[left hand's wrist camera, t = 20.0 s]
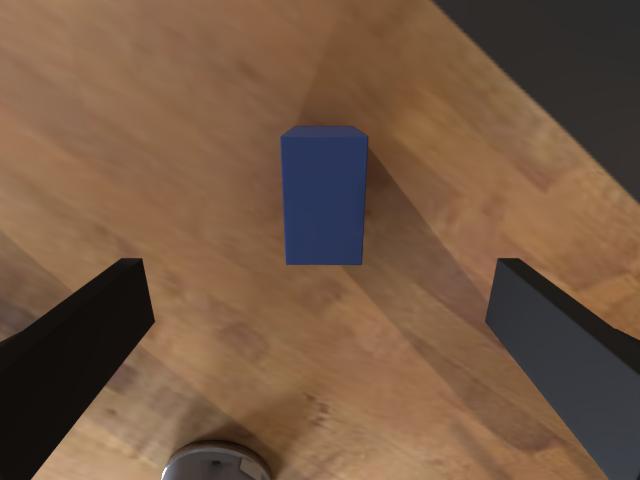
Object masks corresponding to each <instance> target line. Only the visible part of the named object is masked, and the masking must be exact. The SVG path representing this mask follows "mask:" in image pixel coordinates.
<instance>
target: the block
mask: <svg viewBox="0 0 640 480" xmlns="http://www.w3.org/2000/svg"><path fill="white" fill-rule="evenodd" d="M367 154H368V136H367V135H365V134H364V133H362V132H361V131H359V130H358V129H356V128H355V127H353V126H295V127H293V128H292V129H290V130H289V131H288V132H286V133H285V134H283V135H282V136H281V161H282V185H283V209H284V234H285V258H286V264H287V265H362V253H363V233H364V213H365V193H366V173H367Z"/></svg>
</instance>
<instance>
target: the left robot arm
mask: <svg viewBox="0 0 640 480" xmlns="http://www.w3.org/2000/svg"><path fill="white" fill-rule="evenodd" d="M154 322H155V319H154V315H153V310H152V305H151V300H150V295H149V290H148V285H147V280H146V275H145V270H144V265H143V260H142V258H121V259H120V260H118V261H117V262H116V263H114V264H113V265H112V266H110V267H109V268H107V269H106V270H105V271H103V272H102V273H101V274H99V275H98V276H97V277H95V278H94V279H92V280H91V281H90V282H88V283H87V284H86V285H84V286H83V287H82V288H80V289H79V290H78V291H76V292H75V293H73V294H72V295H71V296H69V297H68V298H67V299H65V300H64V301H63V302H61V303H60V304H59V305H57V306H56V307H54V308H53V309H52V310H50V311H49V312H48V313H46V314H45V315H44V316H42V317H41V318H39V319H38V320H37V321H35V322H34V323H33V324H31V325H30V326H29V327H27V328H26V329H25V330H23V331H21V332H19V333H17V334H15V335H13V336H11V337H9V338H7V339H5V340H3V341H1V342H0V480H31V479H32V477H33V476H34V475H35V474H36V472H37V471H38V470H39V469H40V467H41V466H42V465H43V463H44V462H45V461H46V460H47V458H48V457H49V456H50V455H51V453H52V452H53V451H54V449H55V448H56V447H57V446H58V444H59V443H60V442H61V441H62V439H63V438H64V437H65V435H66V434H67V433H68V432H69V430H70V429H71V428H72V427H73V425H74V424H75V423H76V422H77V420H78V419H79V418H80V416H81V415H82V414H83V413H84V411H85V410H86V409H87V408H88V406H89V405H90V404H91V402H92V401H93V400H94V399H95V397H96V396H97V395H98V394H99V392H100V391H101V390H102V388H103V387H104V386H105V385H106V383H107V382H108V381H109V380H110V378H111V377H112V376H113V374H114V373H115V372H116V371H117V369H118V368H119V367H120V366H121V364H122V363H123V362H124V361H125V359H126V358H127V357H128V355H129V354H130V353H131V352H132V350H133V349H134V348H135V347H136V345H137V344H138V343H139V341H140V340H141V339H142V338H143V336H144V335H145V334H146V333H147V331H148V330H149V329H150V327H151V326H152V325H153V324H154ZM485 322H486V324H487V325H488V326H489V327H490V329H491V330H492V331H493V333H494V334H495V335H496V336H497V338H498V339H499V340H500V341H501V343H502V344H503V345H504V347H505V348H506V349H507V350H508V352H509V353H510V354H511V355H512V357H513V358H514V359H515V361H516V362H517V363H518V364H519V366H520V367H521V368H522V369H523V371H524V372H525V373H526V375H527V376H528V377H529V378H530V380H531V381H532V382H533V383H534V385H535V386H536V387H537V388H538V390H539V391H540V392H541V394H542V395H543V396H544V397H545V399H546V400H547V401H548V402H549V404H550V405H551V406H552V408H553V409H554V410H555V411H556V413H557V414H558V415H559V416H560V418H561V419H562V420H563V422H564V423H565V424H566V425H567V427H568V428H569V429H570V430H571V432H572V433H573V434H574V435H575V437H576V438H577V439H578V441H579V442H580V443H581V444H582V446H583V447H584V448H585V449H586V451H587V452H588V453H589V455H590V456H591V457H592V458H593V460H594V461H595V462H596V463H597V465H598V466H599V467H600V469H601V470H602V471H603V472H604V474H605V475H606V476H607V477H608V479H609V480H640V340H638V339H636V338H634V337H632V336H630V335H628V334H626V333H624V332H621V331H619V330H617V329H614V328H613V327H611V326H610V325H609V324H607V323H606V322H605V321H603V320H602V319H601V318H599V317H598V316H596V315H595V314H594V313H592V312H591V311H590V310H588V309H587V308H586V307H584V306H583V305H581V304H580V303H579V302H577V301H576V300H575V299H573V298H572V297H571V296H569V295H568V294H567V293H565V292H564V291H562V290H561V289H560V288H558V287H557V286H556V285H554V284H553V283H552V282H550V281H549V280H548V279H546V278H545V277H543V276H542V275H541V274H539V273H538V272H537V271H535V270H534V269H533V268H531V267H530V266H528V265H527V264H526V263H524V262H523V261H522V260H520V259H519V258H498V260H497V265H496V270H495V275H494V280H493V285H492V290H491V295H490V300H489V305H488V310H487V315H486V319H485ZM162 480H272V478H271V473H270V470H269V468H268V467H267V465H266V464H265V462H264V461H263V460H262V459H261V458H260V457H259V456H258V455H256V454H255V453H253V452H252V451H250V450H248V449H246V448H244V447H242V446H239V445H236V444H233V443H229V442H223V441H202V442H196V443H193V444H190V445H187V446H185V447H183V448H181V449H180V450H178V451H177V452H176V453H175V454H174V455H173V456H172V457H171V458H170V460H169V462H168V464H167V466H166V468H165V471H164V473H163V476H162Z"/></svg>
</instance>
